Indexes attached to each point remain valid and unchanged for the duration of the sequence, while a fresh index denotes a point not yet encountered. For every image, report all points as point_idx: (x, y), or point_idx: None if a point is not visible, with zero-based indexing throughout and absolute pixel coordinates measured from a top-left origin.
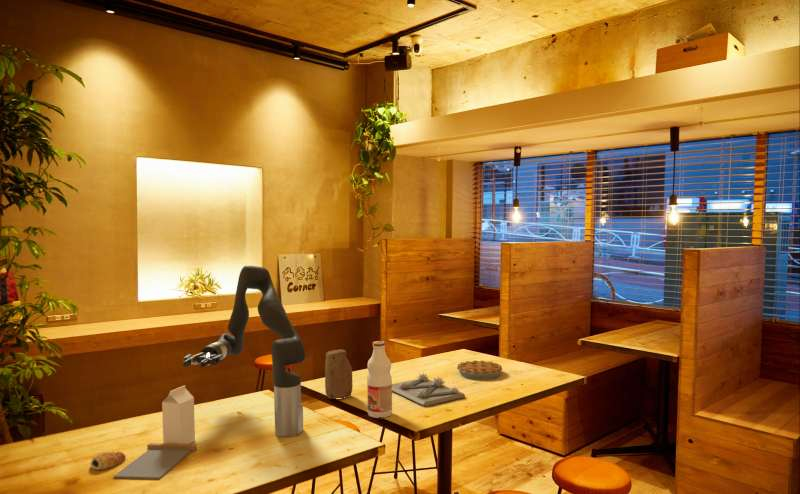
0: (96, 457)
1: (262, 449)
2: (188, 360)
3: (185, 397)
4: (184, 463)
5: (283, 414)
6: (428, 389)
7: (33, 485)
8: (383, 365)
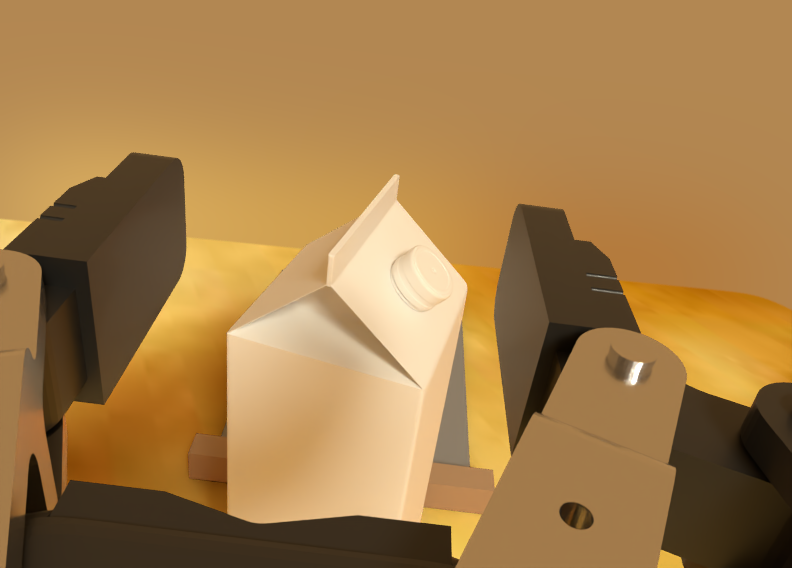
0: None
1: None
2: (529, 264)
3: (289, 278)
4: (218, 357)
5: None
6: None
7: (691, 294)
8: None
